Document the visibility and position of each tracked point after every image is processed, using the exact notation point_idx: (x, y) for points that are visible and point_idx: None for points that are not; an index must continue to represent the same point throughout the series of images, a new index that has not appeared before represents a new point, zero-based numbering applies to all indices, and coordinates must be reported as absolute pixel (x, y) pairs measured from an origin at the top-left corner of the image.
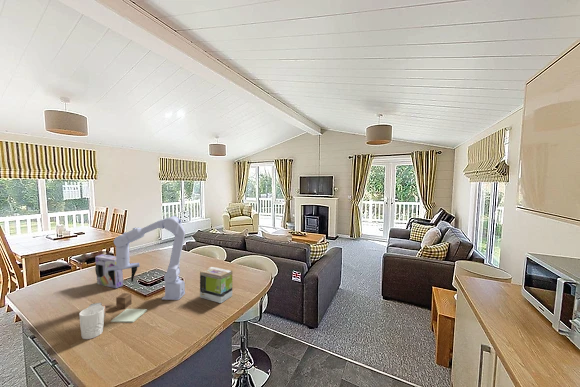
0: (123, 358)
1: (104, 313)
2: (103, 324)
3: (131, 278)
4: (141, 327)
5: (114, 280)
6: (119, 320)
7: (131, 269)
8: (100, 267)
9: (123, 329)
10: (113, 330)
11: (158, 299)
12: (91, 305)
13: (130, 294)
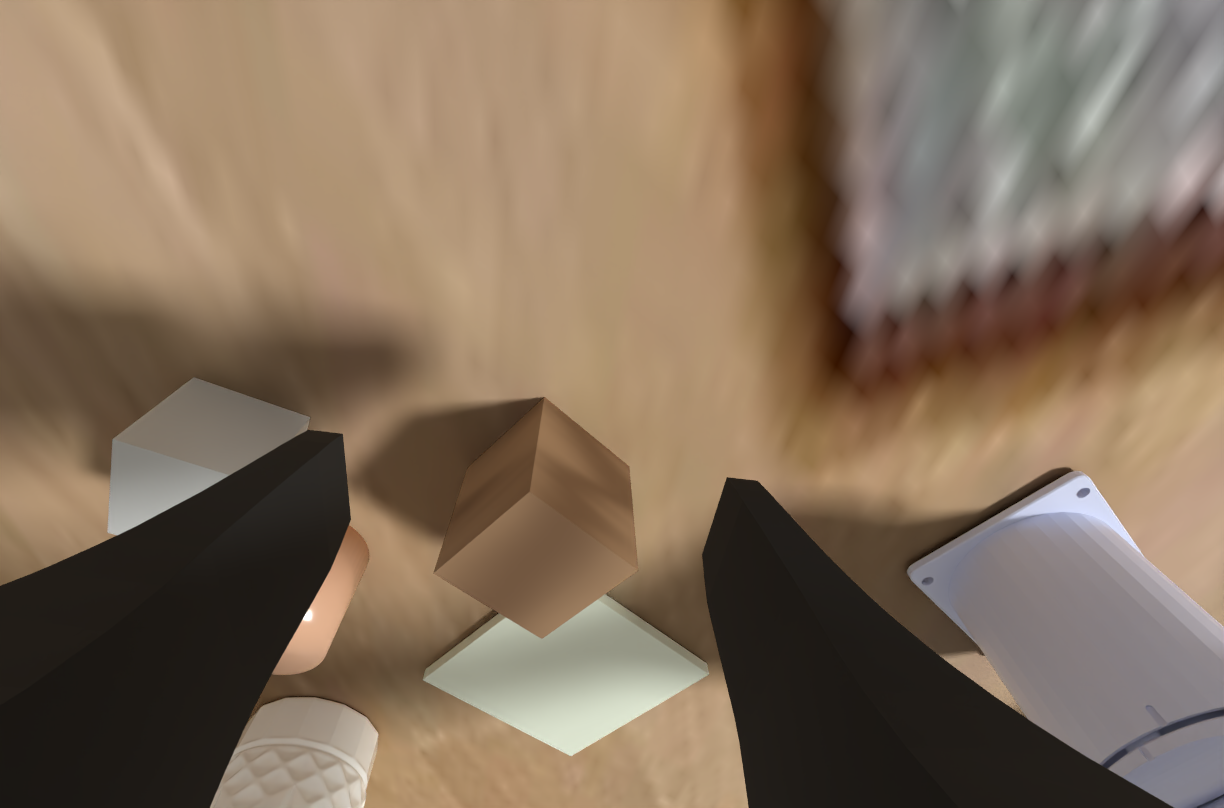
0: None
1: (350, 601)
2: (365, 797)
3: (722, 635)
4: (604, 802)
5: (281, 649)
6: (484, 707)
7: (892, 798)
8: None
9: (504, 774)
10: (445, 757)
11: (887, 540)
12: (135, 493)
13: (622, 575)
